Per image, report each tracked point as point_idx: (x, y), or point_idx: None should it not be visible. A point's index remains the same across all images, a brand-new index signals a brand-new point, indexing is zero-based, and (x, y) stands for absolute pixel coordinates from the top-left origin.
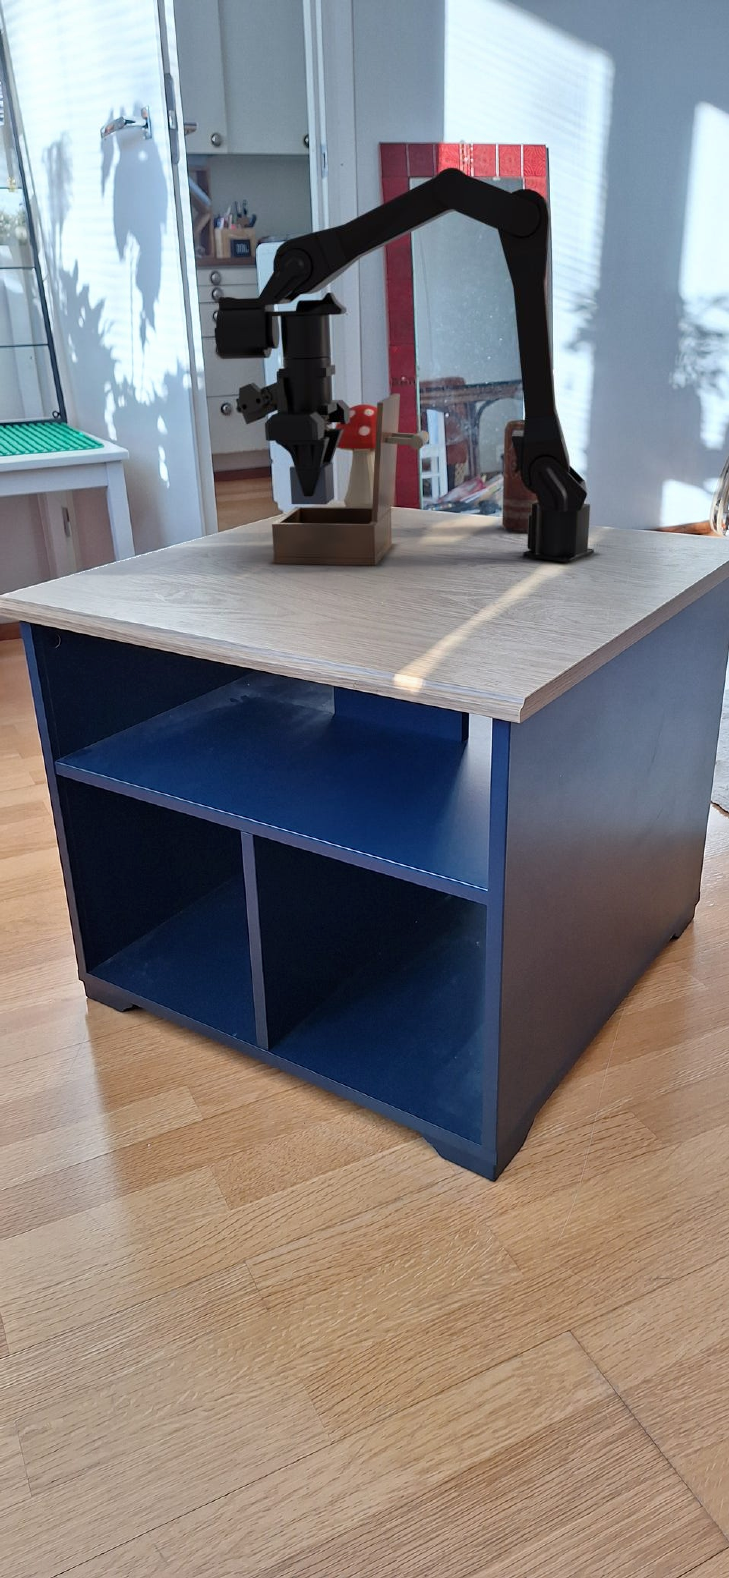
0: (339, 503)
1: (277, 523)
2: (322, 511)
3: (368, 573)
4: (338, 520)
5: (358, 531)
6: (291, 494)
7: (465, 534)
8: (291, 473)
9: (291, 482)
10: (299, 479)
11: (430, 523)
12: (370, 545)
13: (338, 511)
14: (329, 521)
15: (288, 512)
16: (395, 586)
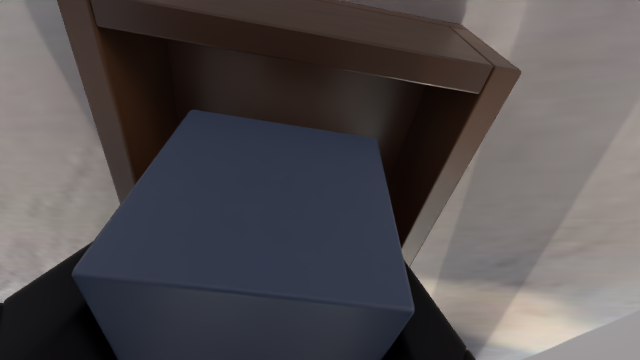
0: None
1: (76, 15)
2: (434, 169)
3: (114, 205)
4: (408, 192)
5: None
6: (169, 138)
7: None
8: (105, 239)
9: (136, 187)
10: (80, 252)
11: (560, 292)
12: None
13: (413, 213)
14: (415, 168)
15: (367, 48)
16: (35, 239)
